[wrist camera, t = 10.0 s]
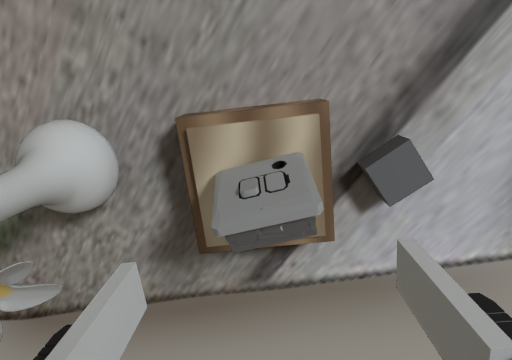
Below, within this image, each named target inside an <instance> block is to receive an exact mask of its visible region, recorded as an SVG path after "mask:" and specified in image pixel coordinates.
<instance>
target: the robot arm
mask: <svg viewBox="0 0 512 360" xmlns="http://www.w3.org/2000/svg"><path fill="white" fill-rule="evenodd" d="M396 282H397V284H396V288H397V290H398V291H399V293H400V294H401V296H402V297H403V299H404V300H405V302H406V303H407V305H408V306H409V308H410V310H411V311H412V313H413V314H414V316H415V317H416V319H417V321H418V322H419V324H420V325H421V327H422V328H423V330H424V331H425V333H426V334H427V336H428V338H429V339H430V341H431V342H432V344H433V345H434V347H435V348H436V350H437V351H438V353H439V355H440V356H441V358H442V359H443V360H512V318H511V317H510V316H509V315H508V314H506V313H505V312H504V311H503V310H502V309H501V308H500V307H499V306H498V305H497V304H496V303H495V302H494V301H492V300H491V299H489V298H487V297H485V296H484V295H482V294H480V293H470V294H467V293H466V292H465V291H464V290H463V289H462V288H461V287H460V286H459V285H458V284H457V283H456V282H455V281H454V280H453V279H452V278H451V277H450V276H449V275H448V274H447V273H446V272H445V271H444V269H443V268H442V267H441V266H440V265H439V264H438V263H437V262H436V261H435V260H434V259H433V258H432V257H431V256H430V255H429V254H428V253H427V252H426V251H425V250H424V249H423V248H422V247H421V246H420V245H419V244H418V243H417V241H416V240H415V239H414V238H410V239H399V240H397V280H396ZM146 308H147V304H146V300H145V296H144V292H143V288H142V284H141V280H140V277H139V273H138V269H137V265H136V262H131V263H121V264H120V266H119V267H118V268H117V269H116V271H115V272H114V273H113V275H112V276H111V277H110V278H109V280H108V281H107V282H106V283H105V285H104V286H103V287H102V288H101V290H100V291H99V292H98V293H97V295H96V296H95V297H94V298H93V300H92V301H91V302H90V303H89V305H88V306H87V307H86V309H85V310H84V311H83V312H82V314H81V315H80V316H79V317H78V319H77V320H76V321H75V322H74V324H72V325H66V326H64V327H63V328H62V329H61V330H59V331H58V332H57V333H55V334H54V335H53V336H52V338H51V339H50V340H49V341H48V343H47V344H46V345H45V347H44V348H42V350H41V351H40V352H39V353H38V356H36V357H35V358H34V359H33V360H120V358H121V356H122V354H123V352H124V350H125V349H126V346H127V345H128V343H129V341H130V339H131V337H132V335H133V333H134V331H135V329H136V328H137V326H138V324H139V322H140V320H141V318H142V316H143V314H144V312H145V310H146Z"/></svg>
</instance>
